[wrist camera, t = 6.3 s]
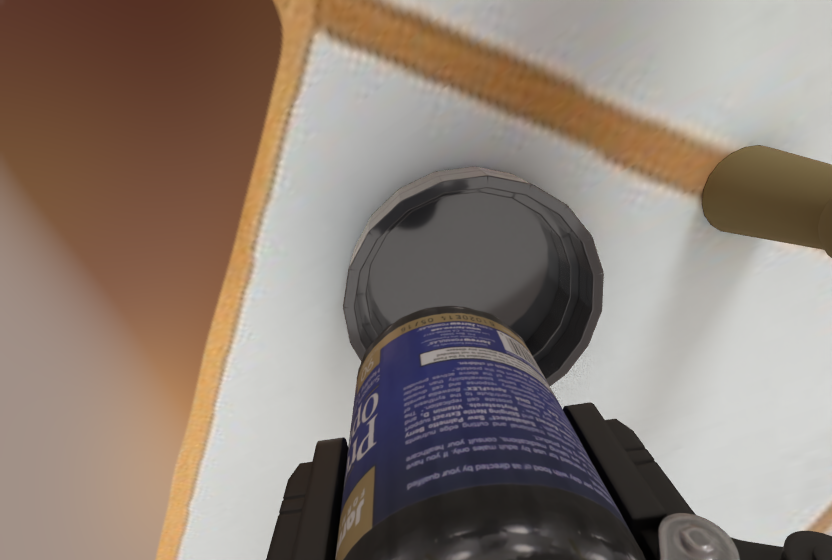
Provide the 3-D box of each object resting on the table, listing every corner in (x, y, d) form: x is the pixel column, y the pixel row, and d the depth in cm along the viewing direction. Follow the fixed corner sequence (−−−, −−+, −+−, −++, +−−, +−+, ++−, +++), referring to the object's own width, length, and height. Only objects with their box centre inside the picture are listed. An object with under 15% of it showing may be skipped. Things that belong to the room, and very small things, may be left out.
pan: (331, 184, 28) (320, 197, 24) (576, 152, 28) (609, 159, 24) (370, 389, 34) (367, 429, 30) (572, 362, 34) (598, 398, 30)
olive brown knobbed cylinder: (703, 243, 31) (855, 308, 21) (700, 160, 29) (868, 187, 19) (788, 219, 31) (984, 272, 21) (790, 133, 29) (1012, 146, 18)
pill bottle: (341, 315, 14) (202, 874, 4) (527, 285, 14) (892, 773, 4) (375, 459, 16) (347, 1046, 6) (535, 434, 16) (775, 986, 6)
